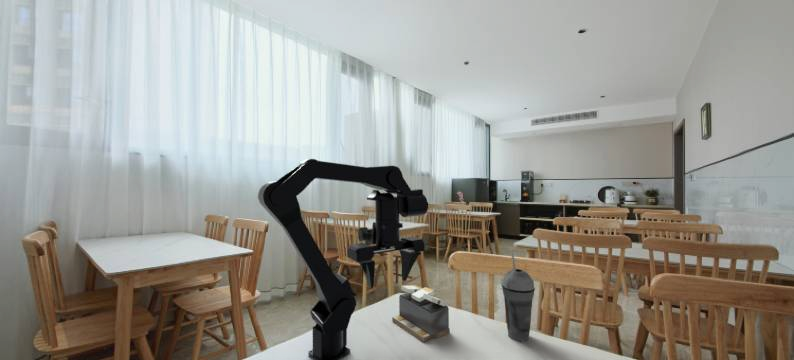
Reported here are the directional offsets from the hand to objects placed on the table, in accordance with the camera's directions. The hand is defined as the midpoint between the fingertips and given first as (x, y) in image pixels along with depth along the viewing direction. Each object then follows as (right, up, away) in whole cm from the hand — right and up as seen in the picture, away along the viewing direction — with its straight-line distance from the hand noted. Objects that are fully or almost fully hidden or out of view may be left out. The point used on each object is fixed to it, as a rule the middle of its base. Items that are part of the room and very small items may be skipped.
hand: (388, 284), depth 73 cm
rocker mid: (+9, -4, +4) cm, 11 cm away
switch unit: (+8, -12, +4) cm, 15 cm away
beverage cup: (+31, -12, -1) cm, 33 cm away
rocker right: (+11, -4, +1) cm, 12 cm away
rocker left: (+6, -4, +8) cm, 11 cm away
